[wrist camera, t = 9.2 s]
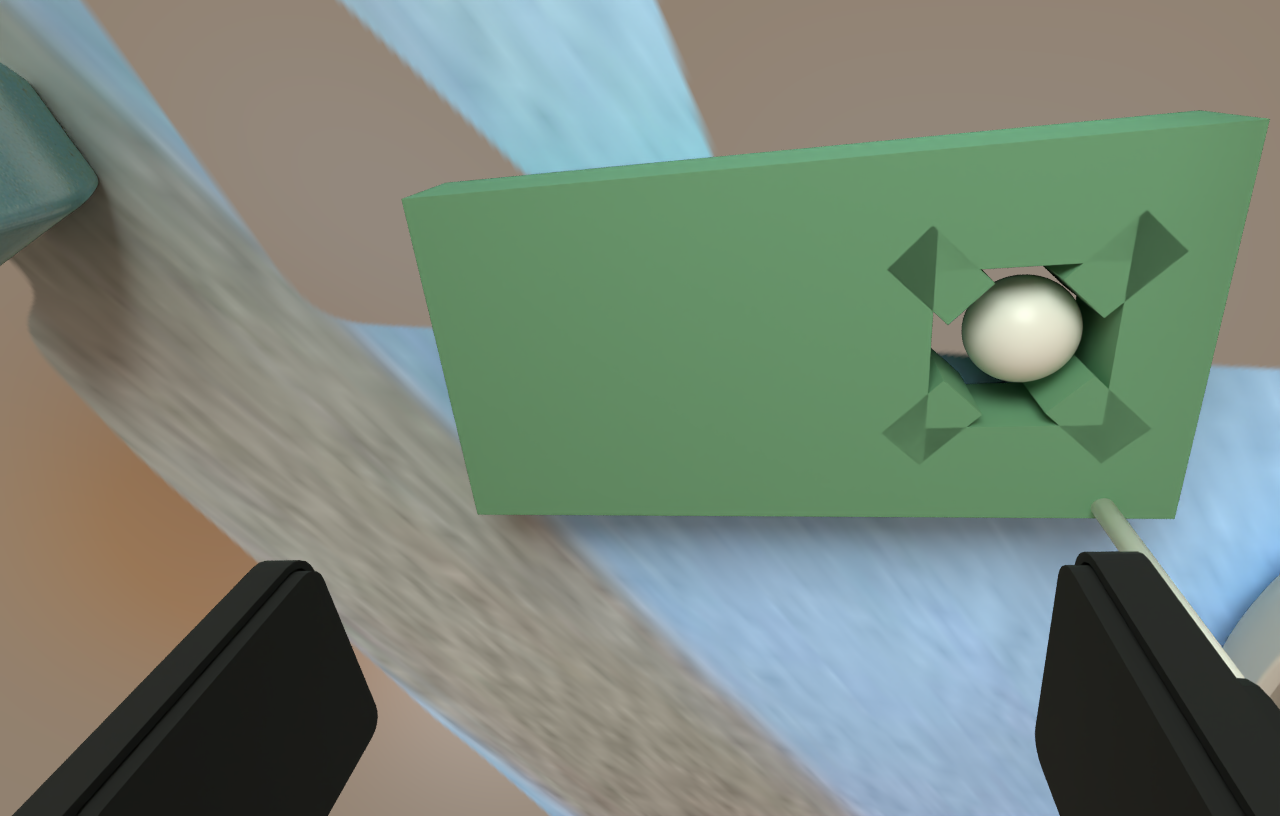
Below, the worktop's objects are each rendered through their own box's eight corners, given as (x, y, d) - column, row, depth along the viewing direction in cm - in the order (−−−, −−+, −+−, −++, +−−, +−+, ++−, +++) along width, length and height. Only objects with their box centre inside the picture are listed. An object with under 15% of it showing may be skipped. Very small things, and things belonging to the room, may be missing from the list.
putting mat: (445, 182, 30) (74, 318, 14) (1199, 110, 25) (1966, 203, 9) (507, 469, 36) (291, 793, 20) (1128, 465, 30) (1510, 910, 15)
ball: (1004, 300, 24) (1079, 244, 25) (922, 316, 28) (990, 267, 29) (1055, 401, 25) (1125, 341, 26) (967, 403, 29) (1032, 352, 30)
